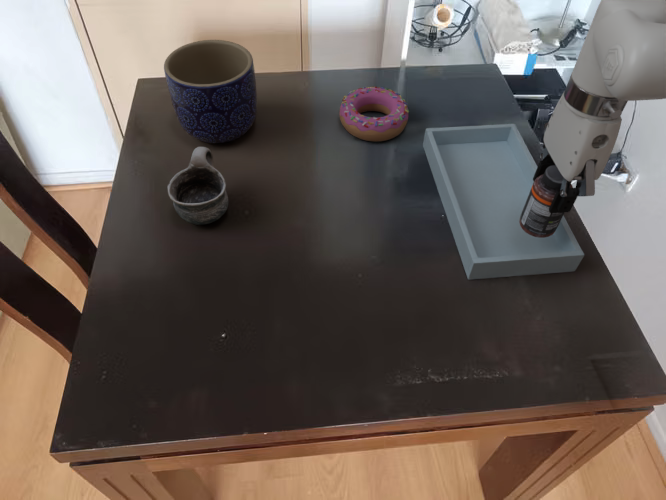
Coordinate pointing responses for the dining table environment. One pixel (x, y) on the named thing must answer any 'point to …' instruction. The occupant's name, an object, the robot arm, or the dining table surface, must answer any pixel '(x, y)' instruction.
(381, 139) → the donut
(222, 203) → the mug
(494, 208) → the blue-grey tray
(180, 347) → the dining table surface
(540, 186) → the supplement bottle
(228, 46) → the planter
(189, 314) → the dining table surface
